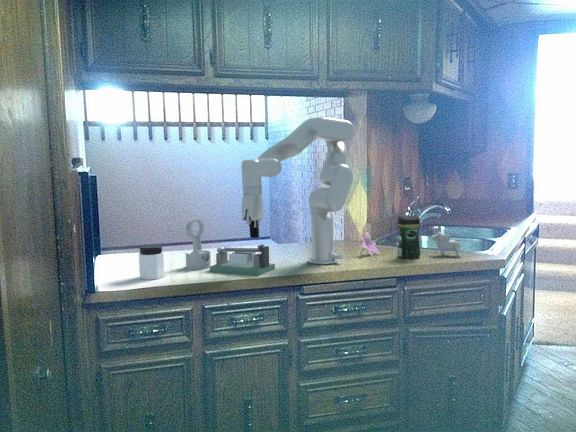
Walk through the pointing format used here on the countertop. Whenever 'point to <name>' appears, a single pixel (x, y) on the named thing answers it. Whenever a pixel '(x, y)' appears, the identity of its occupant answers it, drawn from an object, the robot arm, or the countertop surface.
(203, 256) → the engine component
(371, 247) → the lily
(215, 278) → the countertop surface
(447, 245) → the dog figurine
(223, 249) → the thin grey bar
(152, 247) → the jar
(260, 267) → the base
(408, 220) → the coffee jar
